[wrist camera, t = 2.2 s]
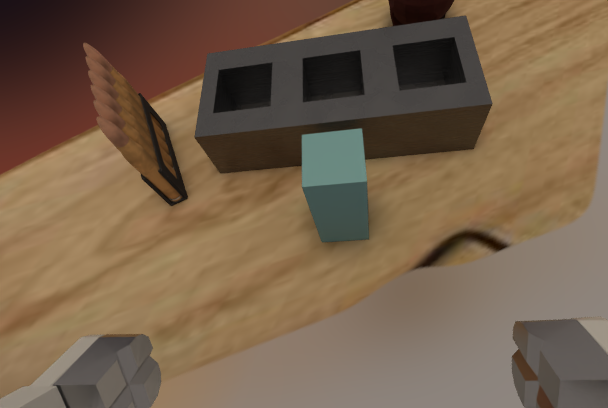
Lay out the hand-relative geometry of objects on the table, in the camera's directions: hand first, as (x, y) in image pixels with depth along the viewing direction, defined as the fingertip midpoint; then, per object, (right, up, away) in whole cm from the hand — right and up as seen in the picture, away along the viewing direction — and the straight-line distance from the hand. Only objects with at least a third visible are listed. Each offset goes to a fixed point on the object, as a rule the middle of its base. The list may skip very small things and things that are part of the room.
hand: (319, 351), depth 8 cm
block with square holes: (+3, +12, +29) cm, 31 cm away
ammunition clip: (-15, +8, +31) cm, 35 cm away
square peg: (+3, +2, +24) cm, 24 cm away
